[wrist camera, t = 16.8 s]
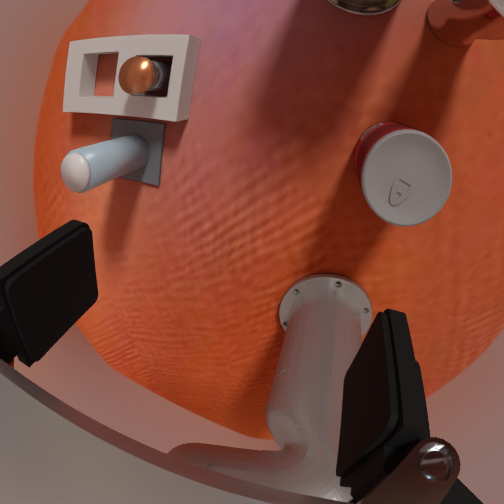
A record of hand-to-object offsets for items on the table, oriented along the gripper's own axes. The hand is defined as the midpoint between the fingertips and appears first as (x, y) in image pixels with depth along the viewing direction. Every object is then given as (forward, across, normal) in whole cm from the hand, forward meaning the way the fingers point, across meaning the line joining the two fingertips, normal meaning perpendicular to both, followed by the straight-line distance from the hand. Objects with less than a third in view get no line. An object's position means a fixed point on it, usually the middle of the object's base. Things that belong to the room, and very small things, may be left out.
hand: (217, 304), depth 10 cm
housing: (+28, +23, -6) cm, 37 cm away
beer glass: (+28, -13, -20) cm, 37 cm away
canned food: (+28, -9, -2) cm, 30 cm away
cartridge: (+28, +21, +4) cm, 35 cm away
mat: (+28, +21, +4) cm, 35 cm away
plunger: (+28, +18, -6) cm, 34 cm away
